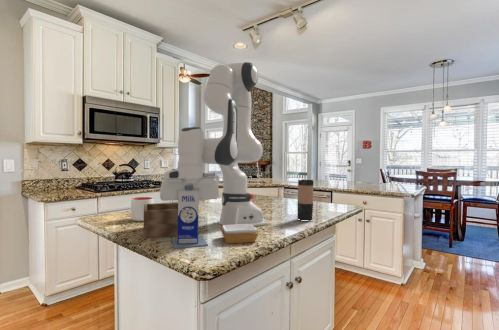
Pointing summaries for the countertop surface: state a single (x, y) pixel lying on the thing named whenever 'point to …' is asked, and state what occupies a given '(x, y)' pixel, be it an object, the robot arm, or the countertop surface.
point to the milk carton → (188, 215)
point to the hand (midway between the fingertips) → (189, 212)
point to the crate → (160, 220)
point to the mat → (200, 243)
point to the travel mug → (305, 199)
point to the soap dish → (239, 233)
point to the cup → (139, 207)
